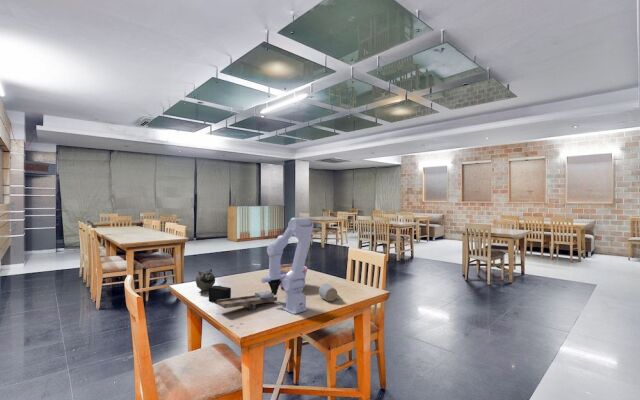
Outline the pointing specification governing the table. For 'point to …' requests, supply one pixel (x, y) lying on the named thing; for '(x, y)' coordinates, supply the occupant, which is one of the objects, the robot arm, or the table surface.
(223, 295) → the digital camera
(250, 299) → the beam
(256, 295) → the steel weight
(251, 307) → the pivot stand
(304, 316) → the table surface
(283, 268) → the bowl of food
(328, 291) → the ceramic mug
